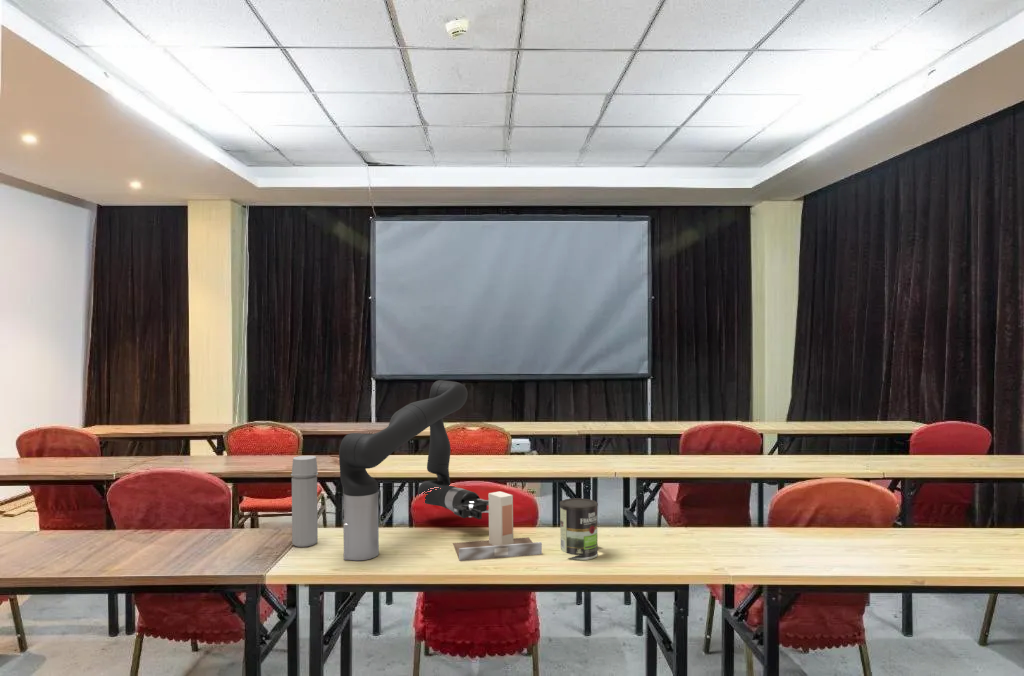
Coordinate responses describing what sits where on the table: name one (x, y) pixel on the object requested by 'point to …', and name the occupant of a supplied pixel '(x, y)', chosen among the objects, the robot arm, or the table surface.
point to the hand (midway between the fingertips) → (493, 512)
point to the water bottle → (304, 501)
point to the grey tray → (496, 549)
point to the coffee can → (579, 528)
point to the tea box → (500, 518)
